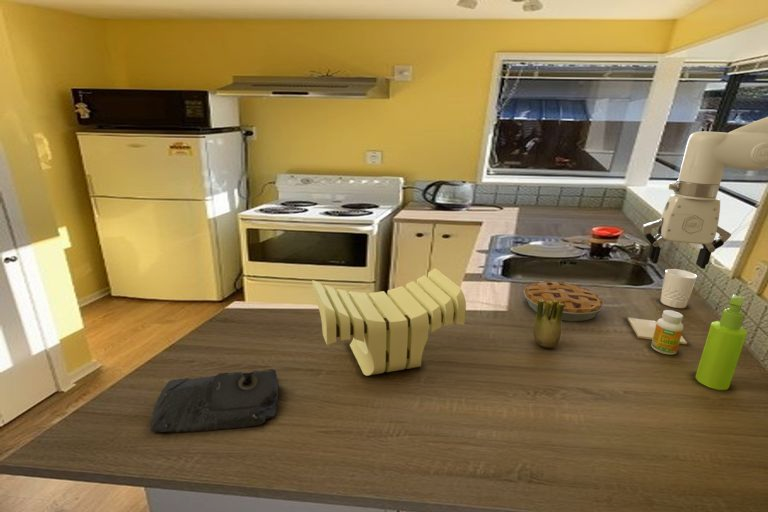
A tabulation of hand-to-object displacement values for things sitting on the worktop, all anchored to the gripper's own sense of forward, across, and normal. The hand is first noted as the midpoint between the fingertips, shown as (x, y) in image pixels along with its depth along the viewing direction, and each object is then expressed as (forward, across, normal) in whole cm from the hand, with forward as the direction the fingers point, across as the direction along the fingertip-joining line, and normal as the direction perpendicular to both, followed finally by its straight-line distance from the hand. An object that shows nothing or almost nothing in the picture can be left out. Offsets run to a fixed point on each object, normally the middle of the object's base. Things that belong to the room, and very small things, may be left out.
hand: (676, 264), depth 98 cm
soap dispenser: (+22, +7, -13) cm, 27 cm away
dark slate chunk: (+23, -88, -50) cm, 104 cm away
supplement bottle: (+22, +2, 0) cm, 22 cm away
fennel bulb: (+22, -26, -7) cm, 35 cm away
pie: (+22, -20, +18) cm, 35 cm away
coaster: (+22, +3, +10) cm, 24 cm away
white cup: (+22, +14, +32) cm, 41 cm away
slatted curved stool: (+23, -62, -25) cm, 71 cm away
